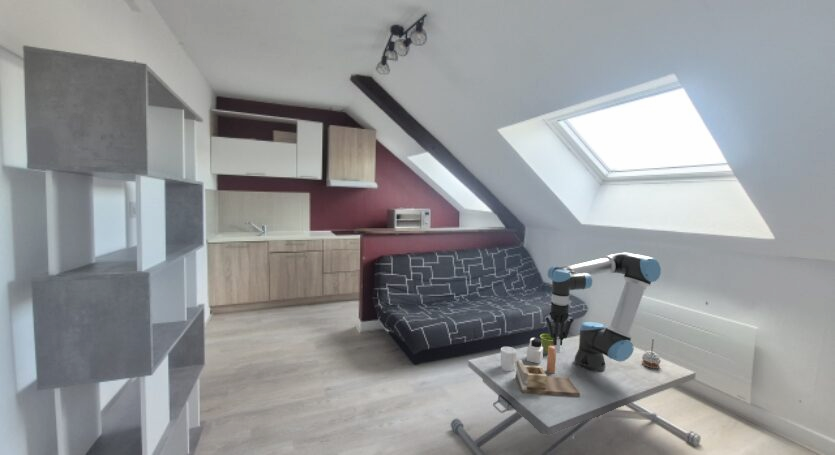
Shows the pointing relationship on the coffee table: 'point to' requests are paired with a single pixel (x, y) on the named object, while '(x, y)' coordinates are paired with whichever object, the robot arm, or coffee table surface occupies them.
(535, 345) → the medicine bottle
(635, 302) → the robot arm
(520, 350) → the coffee table surface
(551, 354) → the dowel
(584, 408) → the coffee table surface
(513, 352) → the white cup
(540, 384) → the open wooden box
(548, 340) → the plant pot
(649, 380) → the coffee table surface
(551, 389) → the board
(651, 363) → the cupcake with stick
